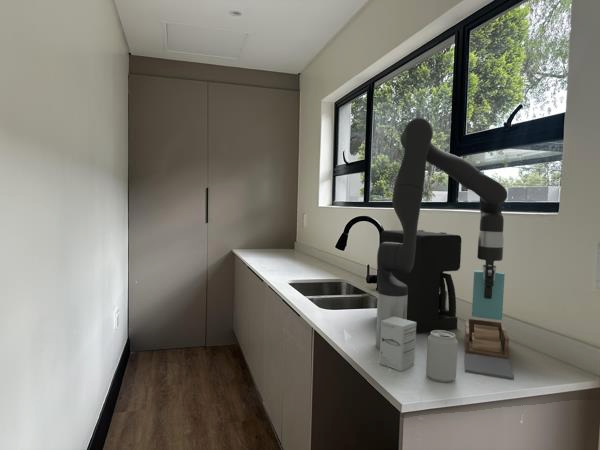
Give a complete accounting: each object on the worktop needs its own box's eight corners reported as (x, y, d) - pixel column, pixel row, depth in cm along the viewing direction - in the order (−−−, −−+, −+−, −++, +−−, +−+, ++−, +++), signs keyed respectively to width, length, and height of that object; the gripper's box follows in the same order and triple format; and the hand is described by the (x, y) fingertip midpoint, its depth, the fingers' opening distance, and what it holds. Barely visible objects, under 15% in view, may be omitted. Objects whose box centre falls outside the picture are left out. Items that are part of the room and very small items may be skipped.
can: (436, 385, 106) (438, 338, 106) (420, 373, 113) (422, 329, 113) (462, 382, 108) (464, 336, 108) (444, 370, 115) (446, 327, 115)
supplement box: (378, 364, 119) (379, 320, 118) (392, 357, 124) (394, 315, 123) (401, 372, 114) (402, 326, 113) (415, 365, 119) (417, 321, 118)
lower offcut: (500, 352, 128) (500, 342, 128) (471, 348, 131) (472, 339, 131) (498, 345, 135) (498, 336, 135) (471, 341, 138) (471, 332, 137)
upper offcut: (498, 342, 129) (499, 332, 129) (474, 338, 131) (474, 329, 131) (497, 336, 134) (497, 327, 134) (473, 333, 137) (474, 324, 137)
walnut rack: (507, 359, 126) (509, 336, 125) (464, 352, 130) (466, 330, 130) (503, 342, 141) (504, 322, 140) (464, 337, 145) (465, 317, 145)
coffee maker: (467, 331, 152) (472, 235, 151) (425, 337, 144) (430, 235, 142) (415, 312, 178) (418, 229, 176) (377, 316, 169) (380, 229, 167)
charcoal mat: (513, 379, 111) (514, 377, 111) (465, 371, 115) (465, 369, 115) (508, 361, 124) (508, 359, 124) (464, 354, 128) (465, 353, 128)
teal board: (501, 320, 136) (504, 274, 135) (471, 316, 139) (474, 271, 138) (501, 318, 138) (503, 272, 138) (471, 314, 142) (474, 270, 141)
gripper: (504, 247, 130) (501, 303, 130) (501, 244, 143) (498, 295, 143) (478, 246, 132) (475, 300, 133) (477, 243, 145) (475, 292, 146)
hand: (487, 297), depth 138 cm, fingers closed on teal board, 3 cm apart
